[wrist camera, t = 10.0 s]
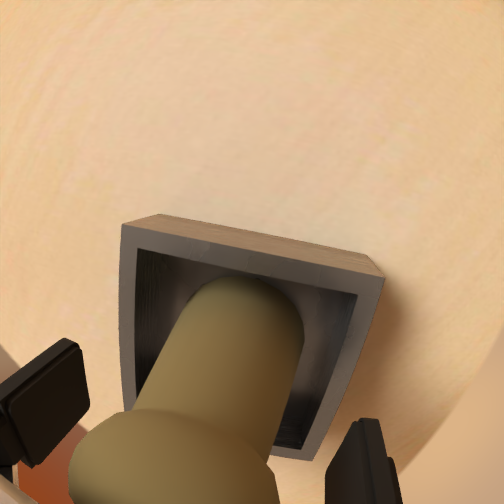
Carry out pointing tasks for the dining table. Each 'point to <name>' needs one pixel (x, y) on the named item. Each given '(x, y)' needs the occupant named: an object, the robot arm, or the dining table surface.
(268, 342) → the cork
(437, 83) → the dining table surface
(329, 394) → the socket
